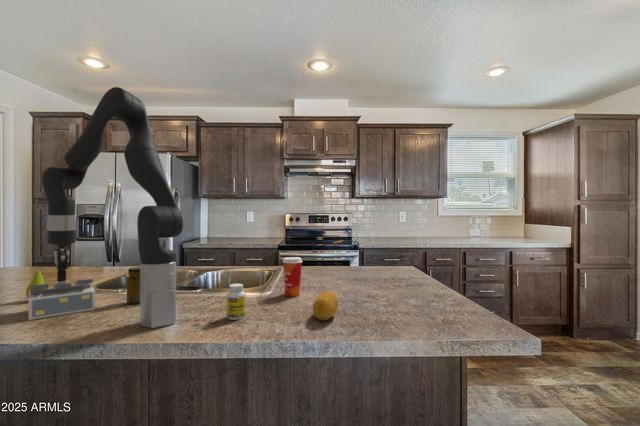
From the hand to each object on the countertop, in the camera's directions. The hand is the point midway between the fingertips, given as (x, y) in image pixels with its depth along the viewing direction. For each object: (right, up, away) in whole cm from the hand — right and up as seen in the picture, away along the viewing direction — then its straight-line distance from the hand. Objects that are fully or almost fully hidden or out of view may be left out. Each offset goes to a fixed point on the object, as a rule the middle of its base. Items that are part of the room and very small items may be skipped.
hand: (61, 281), depth 109 cm
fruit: (-15, -9, +8) cm, 19 cm away
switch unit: (+3, -9, -3) cm, 9 cm away
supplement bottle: (+60, -9, -9) cm, 61 cm away
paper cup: (+74, -9, +18) cm, 77 cm away
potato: (+87, -9, -8) cm, 88 cm away
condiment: (+22, -9, +5) cm, 24 cm away
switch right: (+7, -1, 0) cm, 7 cm away
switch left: (-1, -1, -7) cm, 7 cm away
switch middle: (+3, -1, -3) cm, 4 cm away
